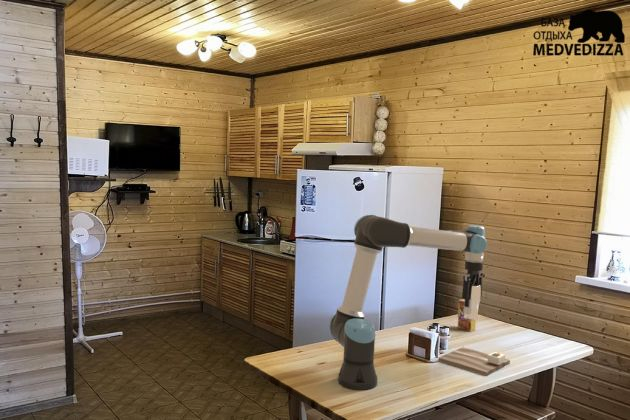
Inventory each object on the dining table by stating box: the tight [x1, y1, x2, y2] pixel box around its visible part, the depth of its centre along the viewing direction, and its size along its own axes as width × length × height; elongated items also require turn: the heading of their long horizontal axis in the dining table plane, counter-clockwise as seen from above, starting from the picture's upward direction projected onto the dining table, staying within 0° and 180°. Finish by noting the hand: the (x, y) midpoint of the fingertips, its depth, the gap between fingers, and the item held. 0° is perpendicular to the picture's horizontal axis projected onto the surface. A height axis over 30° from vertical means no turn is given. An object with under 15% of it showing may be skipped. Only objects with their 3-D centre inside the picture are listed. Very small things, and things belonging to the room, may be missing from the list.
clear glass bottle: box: [464, 284, 482, 320], centre depth 234 cm, size 7×7×15 cm
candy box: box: [457, 298, 477, 333], centre depth 282 cm, size 9×4×15 cm, turn 36°
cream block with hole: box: [487, 351, 506, 365], centre depth 228 cm, size 6×5×3 cm
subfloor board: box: [437, 346, 511, 377], centre depth 232 cm, size 22×22×2 cm
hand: (471, 312), depth 234 cm, fingers closed on clear glass bottle, 6 cm apart
